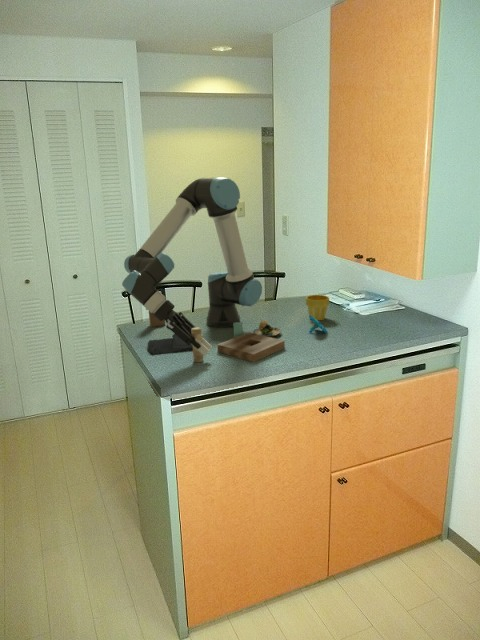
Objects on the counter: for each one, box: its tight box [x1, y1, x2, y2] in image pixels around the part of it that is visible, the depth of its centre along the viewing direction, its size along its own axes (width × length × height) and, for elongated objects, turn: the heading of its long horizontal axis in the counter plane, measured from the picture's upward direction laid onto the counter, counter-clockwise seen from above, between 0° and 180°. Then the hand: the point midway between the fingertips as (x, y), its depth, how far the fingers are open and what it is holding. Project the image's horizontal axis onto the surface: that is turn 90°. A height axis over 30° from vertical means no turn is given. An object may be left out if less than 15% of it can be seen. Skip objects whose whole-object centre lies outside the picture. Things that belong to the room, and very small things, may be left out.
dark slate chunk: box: [147, 333, 193, 356], centre depth 202 cm, size 15×22×5 cm
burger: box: [252, 319, 282, 338], centre depth 211 cm, size 12×12×8 cm
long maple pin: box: [191, 326, 204, 363], centre depth 185 cm, size 4×4×12 cm
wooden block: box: [148, 310, 166, 328], centre depth 230 cm, size 7×3×15 cm, turn 106°
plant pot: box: [305, 294, 330, 321], centre depth 230 cm, size 10×10×10 cm
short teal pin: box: [232, 321, 244, 338], centre depth 206 cm, size 4×4×7 cm
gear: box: [308, 315, 328, 334], centre depth 212 cm, size 11×6×10 cm
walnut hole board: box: [216, 331, 286, 363], centre depth 195 cm, size 18×18×3 cm
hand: (208, 350), depth 185 cm, fingers closed on long maple pin, 3 cm apart
